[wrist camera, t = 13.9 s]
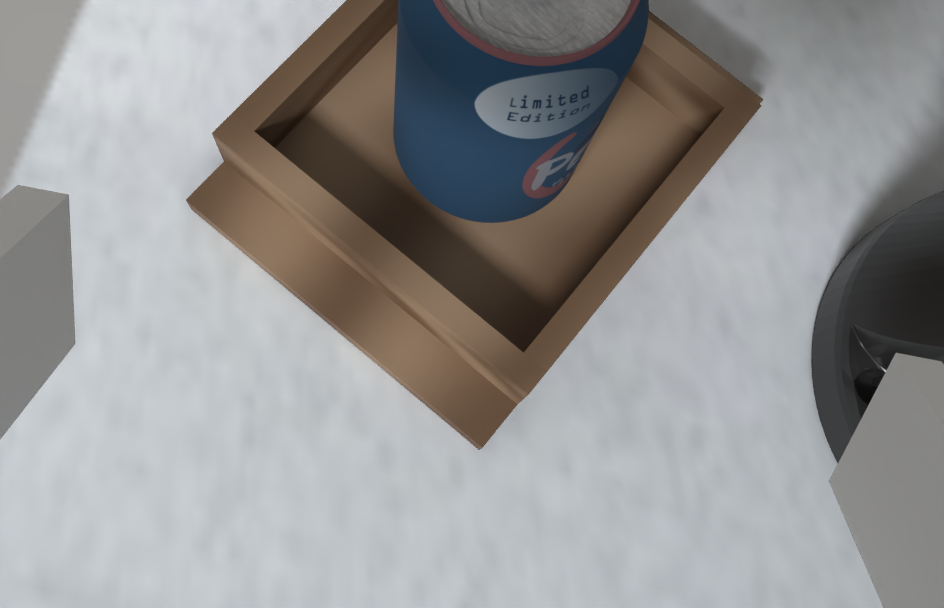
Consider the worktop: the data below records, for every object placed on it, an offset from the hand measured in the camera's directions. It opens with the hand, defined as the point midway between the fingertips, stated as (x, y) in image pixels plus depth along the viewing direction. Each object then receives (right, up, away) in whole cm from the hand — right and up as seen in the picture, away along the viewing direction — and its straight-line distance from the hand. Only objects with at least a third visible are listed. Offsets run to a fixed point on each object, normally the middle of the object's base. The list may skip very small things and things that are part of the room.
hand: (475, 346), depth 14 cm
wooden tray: (0, +6, +21) cm, 22 cm away
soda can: (0, +7, +20) cm, 21 cm away
